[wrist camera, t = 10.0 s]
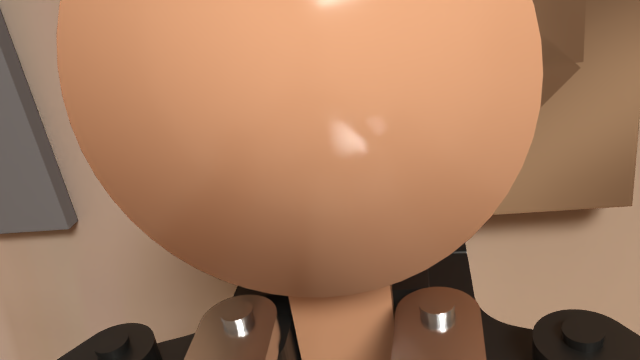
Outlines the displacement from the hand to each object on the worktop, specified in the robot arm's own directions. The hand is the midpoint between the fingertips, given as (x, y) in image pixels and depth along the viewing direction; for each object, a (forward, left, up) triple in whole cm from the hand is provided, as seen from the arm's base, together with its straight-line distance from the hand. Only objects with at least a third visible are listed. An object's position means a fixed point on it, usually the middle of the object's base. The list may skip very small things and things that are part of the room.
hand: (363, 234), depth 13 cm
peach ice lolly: (-3, 0, -4) cm, 5 cm away
